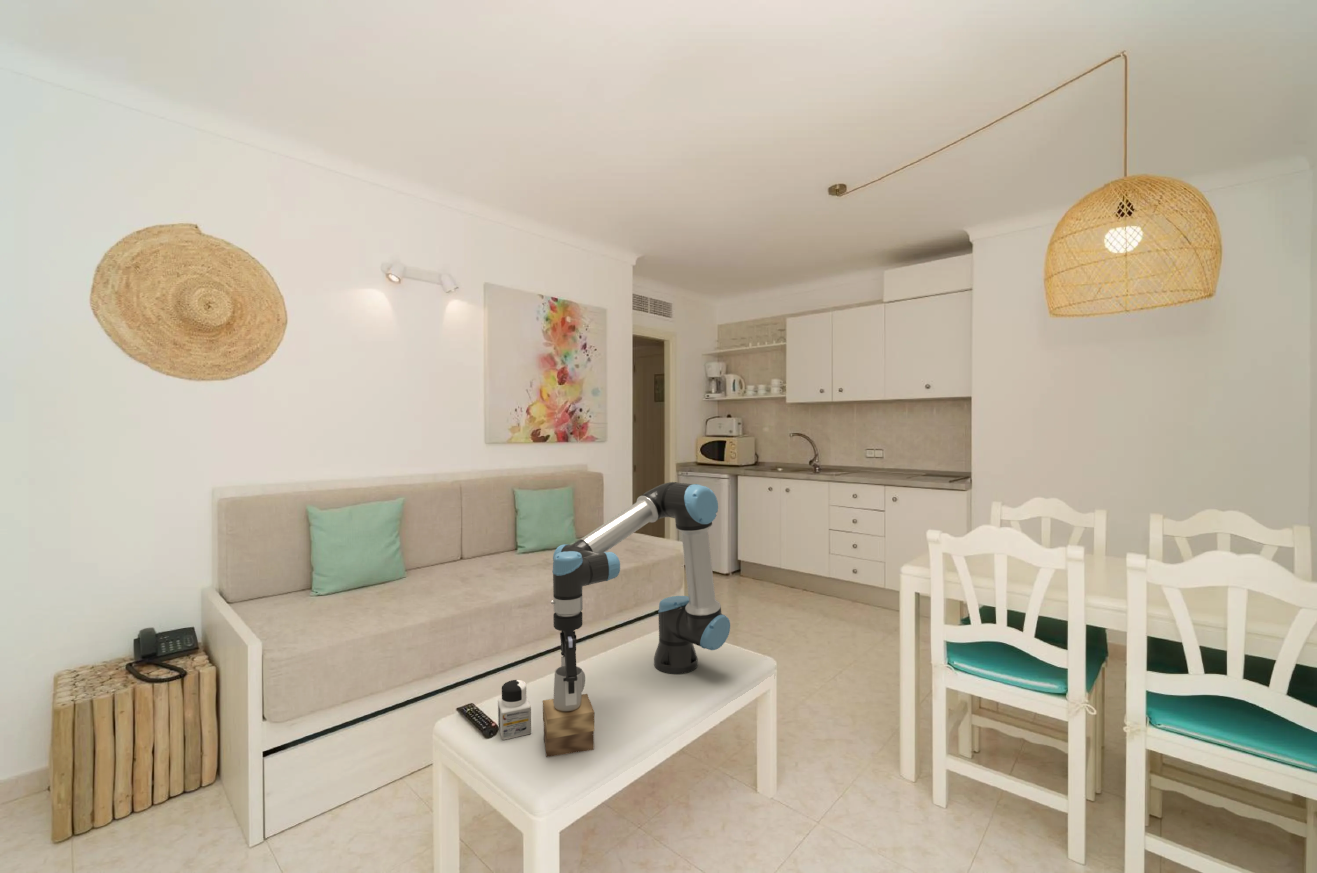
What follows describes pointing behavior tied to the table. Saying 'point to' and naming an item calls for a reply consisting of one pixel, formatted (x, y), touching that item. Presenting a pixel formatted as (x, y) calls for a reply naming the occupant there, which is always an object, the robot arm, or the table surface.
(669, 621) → the robot arm
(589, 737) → the slab lower
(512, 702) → the container
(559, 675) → the cup
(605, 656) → the table surface
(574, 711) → the slab upper
